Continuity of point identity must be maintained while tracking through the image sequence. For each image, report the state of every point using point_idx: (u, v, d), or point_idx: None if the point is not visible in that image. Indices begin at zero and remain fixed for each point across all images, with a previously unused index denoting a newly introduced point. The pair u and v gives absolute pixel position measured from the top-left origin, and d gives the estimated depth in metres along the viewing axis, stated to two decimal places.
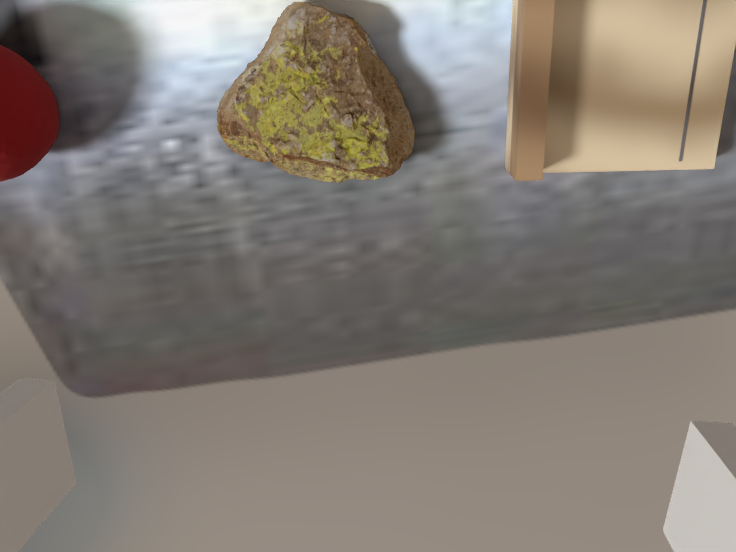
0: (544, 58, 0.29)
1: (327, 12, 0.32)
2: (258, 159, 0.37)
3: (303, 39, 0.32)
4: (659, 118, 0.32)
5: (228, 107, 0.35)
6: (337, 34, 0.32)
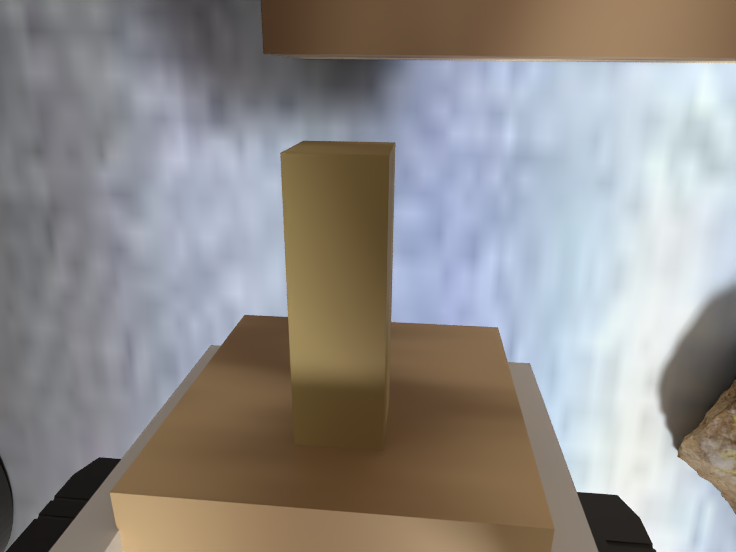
0: None
1: (729, 411, 0.19)
2: None
3: None
4: None
5: None
6: None
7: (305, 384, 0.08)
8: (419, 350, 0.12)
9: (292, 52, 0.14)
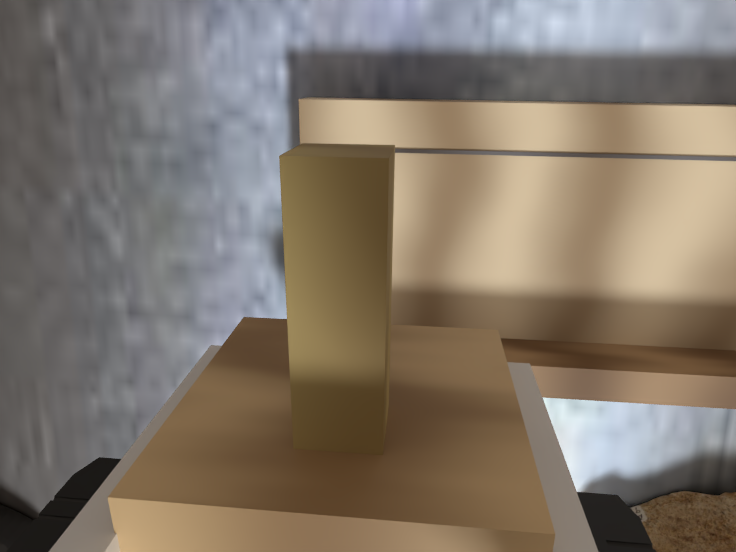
0: (708, 383, 0.23)
1: None
2: None
3: None
4: None
5: None
6: None
7: (304, 388, 0.08)
8: (418, 352, 0.11)
9: None
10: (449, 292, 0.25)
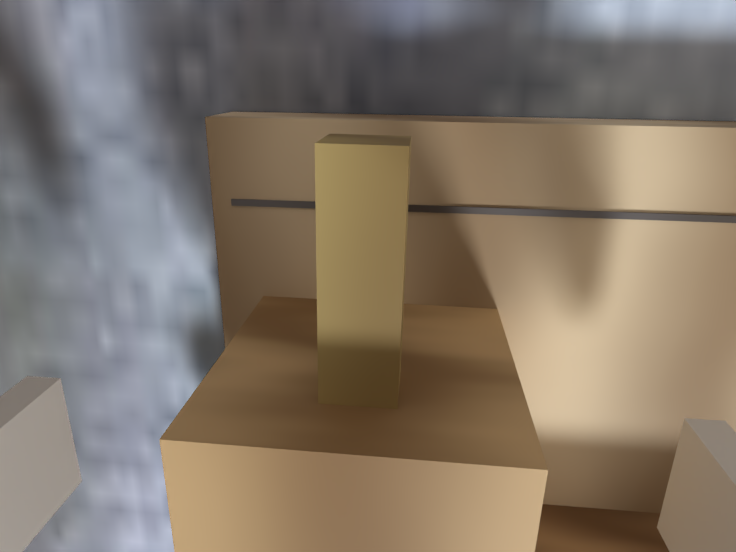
0: None
1: None
2: None
3: None
4: None
5: None
6: None
7: (330, 348, 0.09)
8: (426, 327, 0.13)
9: None
10: None
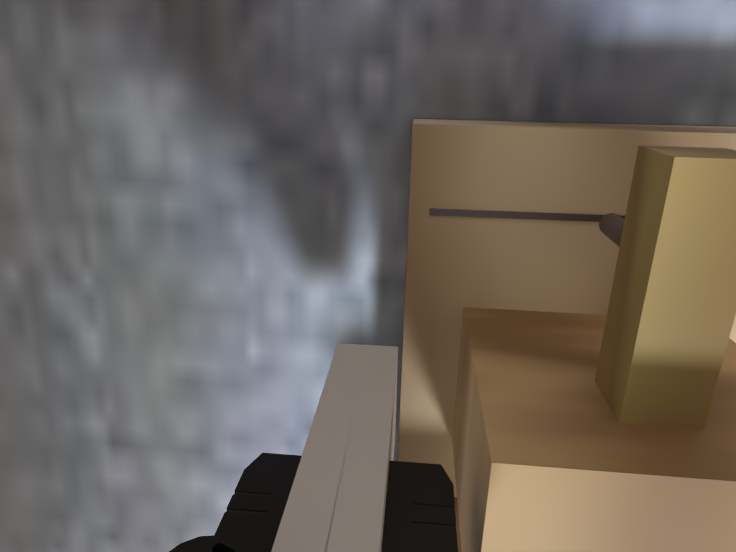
0: None
1: None
2: None
3: None
4: None
5: None
6: None
7: (644, 367, 0.09)
8: None
9: None
10: None
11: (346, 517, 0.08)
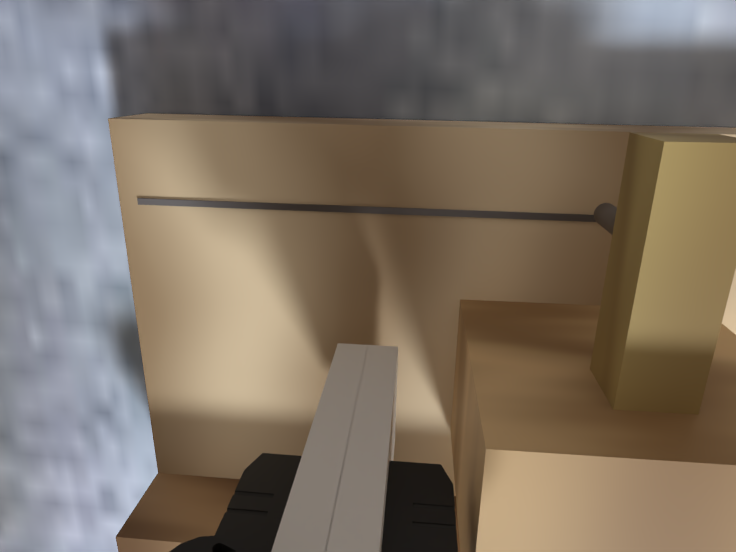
0: None
1: None
2: None
3: None
4: None
5: None
6: None
7: (637, 353, 0.09)
8: None
9: None
10: None
11: (346, 517, 0.08)
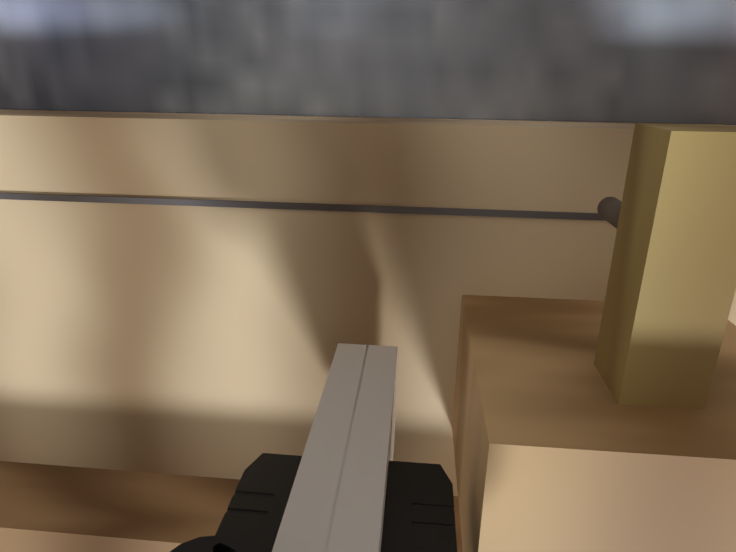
0: None
1: None
2: None
3: None
4: None
5: None
6: None
7: (643, 346, 0.09)
8: None
9: None
10: (163, 414, 0.16)
11: (346, 517, 0.08)
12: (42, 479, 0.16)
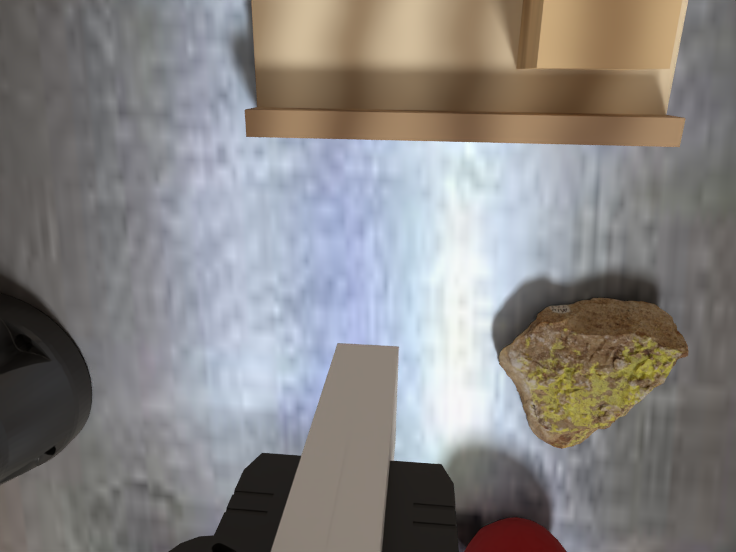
0: (558, 122, 0.30)
1: (524, 336, 0.37)
2: (595, 429, 0.40)
3: (534, 362, 0.37)
4: None
5: (547, 435, 0.40)
6: (546, 338, 0.36)
7: None
8: None
9: (259, 136, 0.32)
10: (367, 70, 0.32)
11: (346, 517, 0.08)
12: (303, 108, 0.33)
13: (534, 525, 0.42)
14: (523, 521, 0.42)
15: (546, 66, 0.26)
